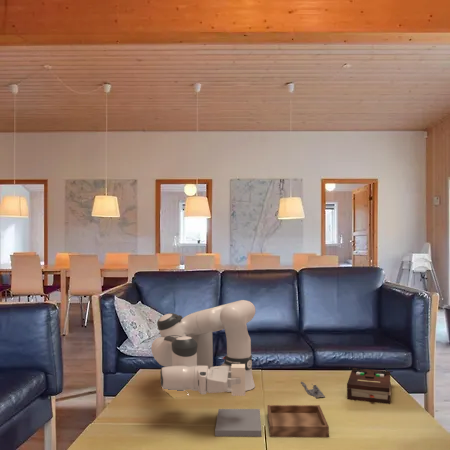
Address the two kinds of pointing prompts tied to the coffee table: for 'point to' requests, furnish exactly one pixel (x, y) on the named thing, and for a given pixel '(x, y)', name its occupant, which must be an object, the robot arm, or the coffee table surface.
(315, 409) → the box
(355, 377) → the decorative book
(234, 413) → the board
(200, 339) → the cylinder vase
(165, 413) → the coffee table surface
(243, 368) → the tall cream pillar block
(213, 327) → the robot arm
